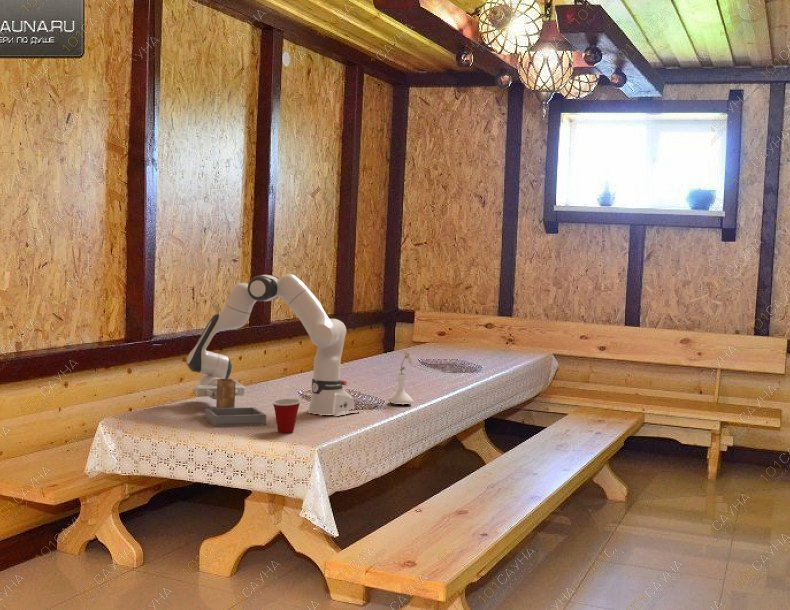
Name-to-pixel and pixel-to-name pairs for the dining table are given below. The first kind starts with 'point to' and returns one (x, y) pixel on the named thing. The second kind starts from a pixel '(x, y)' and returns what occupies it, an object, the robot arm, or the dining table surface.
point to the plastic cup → (286, 414)
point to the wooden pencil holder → (225, 393)
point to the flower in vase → (401, 386)
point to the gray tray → (235, 416)
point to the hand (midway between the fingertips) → (224, 393)
